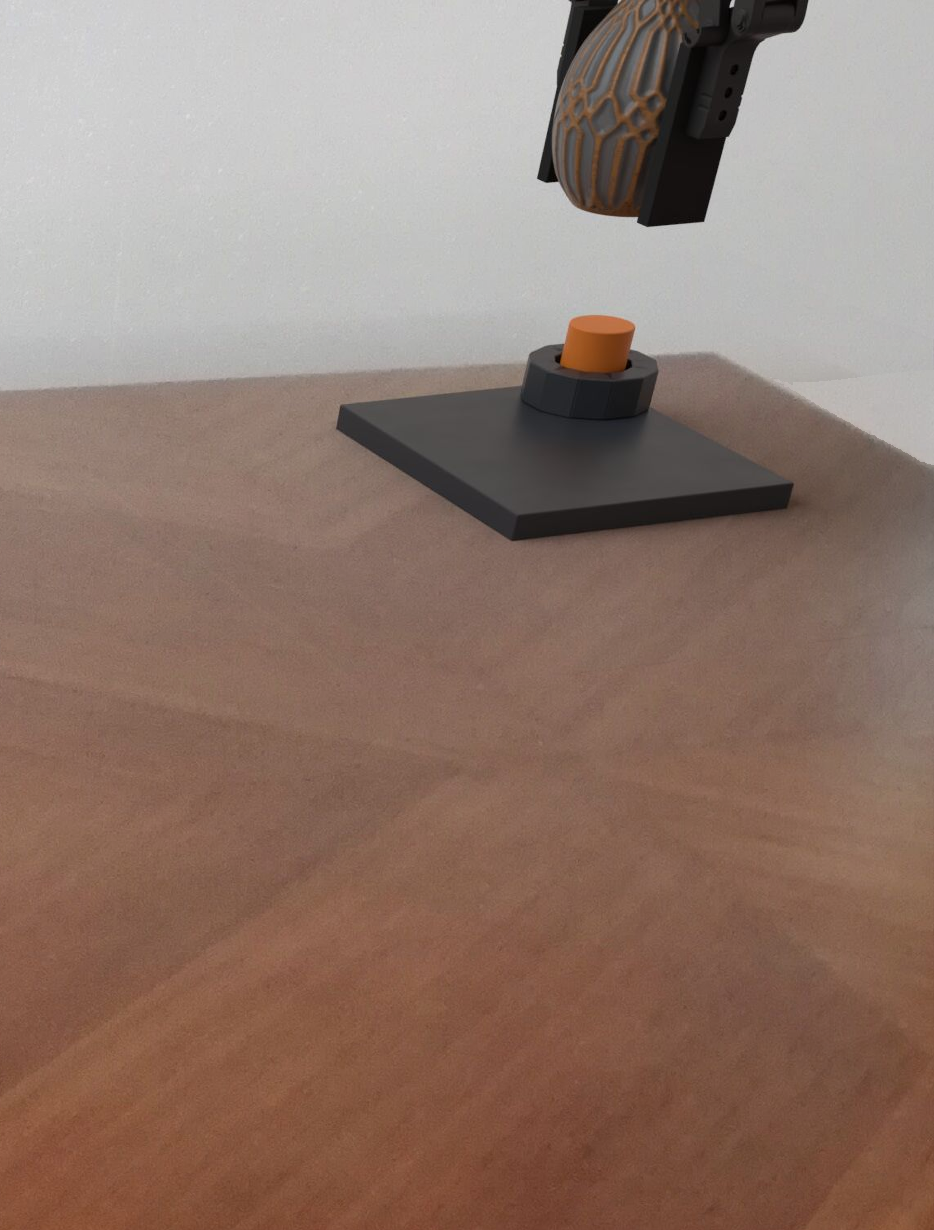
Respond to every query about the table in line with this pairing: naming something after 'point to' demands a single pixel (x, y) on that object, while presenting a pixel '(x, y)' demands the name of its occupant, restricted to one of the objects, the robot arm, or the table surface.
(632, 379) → the scale
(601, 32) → the vase
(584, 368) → the button
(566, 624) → the table surface
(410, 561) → the table surface
